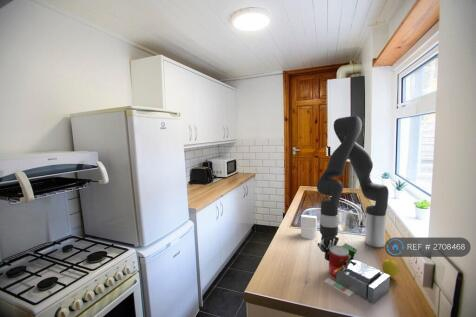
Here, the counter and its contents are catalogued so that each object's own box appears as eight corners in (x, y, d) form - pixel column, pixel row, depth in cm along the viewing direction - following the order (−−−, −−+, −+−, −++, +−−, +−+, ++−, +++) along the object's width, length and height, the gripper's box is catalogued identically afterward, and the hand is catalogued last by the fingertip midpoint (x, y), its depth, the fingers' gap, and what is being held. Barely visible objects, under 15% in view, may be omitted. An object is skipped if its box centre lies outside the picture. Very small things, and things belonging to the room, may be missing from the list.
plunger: (350, 273, 100) (350, 259, 99) (370, 283, 93) (371, 268, 92) (331, 285, 93) (331, 270, 92) (352, 298, 86) (352, 281, 85)
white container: (317, 233, 140) (318, 214, 139) (315, 240, 132) (315, 220, 131) (302, 231, 144) (302, 212, 143) (299, 237, 136) (299, 217, 135)
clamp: (344, 273, 108) (346, 261, 104) (332, 265, 112) (333, 253, 108) (356, 255, 114) (358, 244, 110) (344, 248, 119) (346, 237, 114)
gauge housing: (352, 272, 102) (353, 256, 101) (389, 290, 90) (389, 272, 89) (336, 283, 95) (336, 265, 94) (373, 304, 83) (373, 284, 82)
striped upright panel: (328, 278, 98) (328, 277, 98) (353, 293, 89) (353, 292, 89) (324, 281, 96) (324, 280, 96) (349, 296, 87) (349, 295, 87)
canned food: (341, 281, 96) (341, 256, 94) (324, 271, 102) (325, 248, 101) (352, 275, 100) (352, 251, 98) (335, 266, 106) (336, 243, 105)
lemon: (397, 282, 94) (398, 264, 93) (381, 278, 97) (382, 260, 96) (397, 275, 98) (398, 257, 97) (381, 271, 101) (382, 254, 100)
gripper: (330, 217, 109) (329, 251, 111) (312, 224, 102) (311, 261, 104) (345, 222, 103) (344, 258, 105) (327, 230, 96) (326, 269, 98)
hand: (327, 259), depth 104 cm, fingers closed
